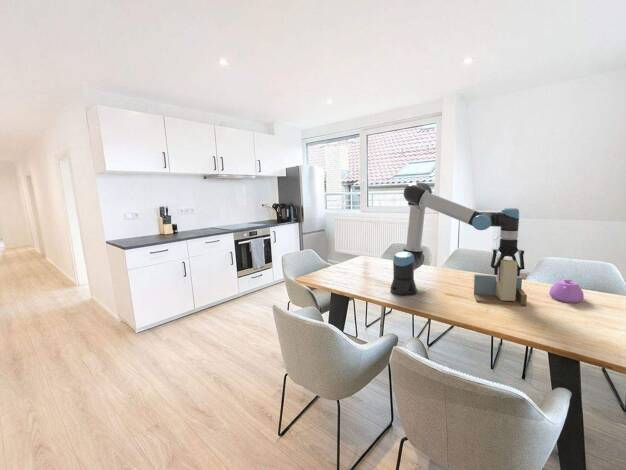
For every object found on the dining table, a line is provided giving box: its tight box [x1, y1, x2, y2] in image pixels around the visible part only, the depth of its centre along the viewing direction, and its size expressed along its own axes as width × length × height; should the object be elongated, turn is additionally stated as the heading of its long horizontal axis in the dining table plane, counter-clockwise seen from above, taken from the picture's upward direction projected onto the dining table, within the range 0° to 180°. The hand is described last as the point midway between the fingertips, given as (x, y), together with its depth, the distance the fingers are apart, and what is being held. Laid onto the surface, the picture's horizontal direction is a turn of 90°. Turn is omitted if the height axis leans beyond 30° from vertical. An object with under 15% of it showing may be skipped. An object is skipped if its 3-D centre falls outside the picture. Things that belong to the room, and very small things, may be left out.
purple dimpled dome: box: [548, 278, 585, 304], centre depth 154 cm, size 14×20×11 cm
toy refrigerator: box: [496, 257, 519, 301], centre depth 153 cm, size 8×7×21 cm
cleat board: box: [473, 273, 528, 308], centre depth 156 cm, size 22×12×12 cm, turn 68°
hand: (506, 281), depth 153 cm, fingers closed on toy refrigerator, 7 cm apart
